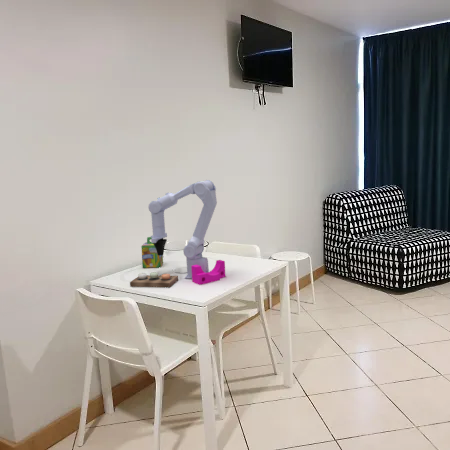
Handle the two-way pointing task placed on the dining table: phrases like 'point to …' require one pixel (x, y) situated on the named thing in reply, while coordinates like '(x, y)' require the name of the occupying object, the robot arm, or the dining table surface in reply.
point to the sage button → (153, 274)
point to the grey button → (142, 276)
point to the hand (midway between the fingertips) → (160, 255)
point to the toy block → (211, 276)
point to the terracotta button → (165, 276)
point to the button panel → (154, 282)
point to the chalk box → (150, 255)
